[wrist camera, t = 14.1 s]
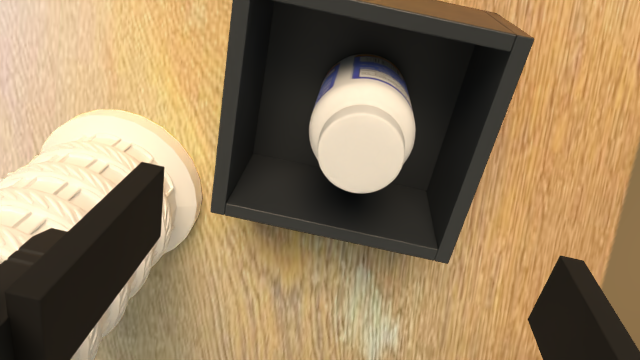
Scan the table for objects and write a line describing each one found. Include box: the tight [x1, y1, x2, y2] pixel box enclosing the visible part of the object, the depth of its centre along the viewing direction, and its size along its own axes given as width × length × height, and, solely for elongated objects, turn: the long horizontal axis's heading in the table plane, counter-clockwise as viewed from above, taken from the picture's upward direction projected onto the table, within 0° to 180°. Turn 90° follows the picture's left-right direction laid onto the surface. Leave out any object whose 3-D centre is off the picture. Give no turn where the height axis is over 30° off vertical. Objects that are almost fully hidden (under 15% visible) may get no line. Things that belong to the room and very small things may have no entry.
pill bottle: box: [309, 54, 416, 193], centre depth 27 cm, size 5×5×10 cm
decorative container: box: [0, 109, 202, 360], centre depth 28 cm, size 12×12×18 cm
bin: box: [211, 0, 534, 264], centre depth 28 cm, size 14×13×8 cm
